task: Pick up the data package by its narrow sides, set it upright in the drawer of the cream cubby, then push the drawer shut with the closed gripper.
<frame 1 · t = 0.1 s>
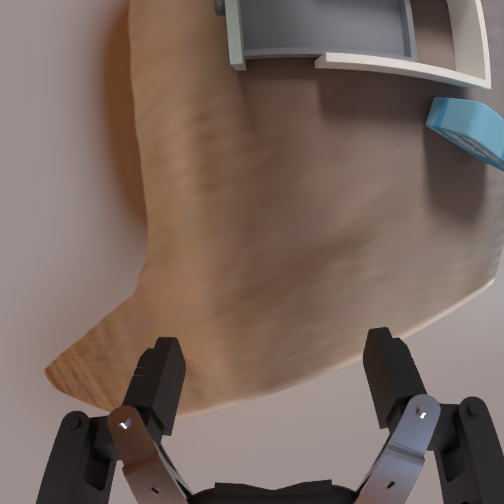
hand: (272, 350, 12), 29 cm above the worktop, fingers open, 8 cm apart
drawer: (322, 6, 24), point 4 cm above the worktop, slide at 8.0 cm
data package: (455, 128, 32), on the worktop
cubby: (392, 23, 26), on the worktop
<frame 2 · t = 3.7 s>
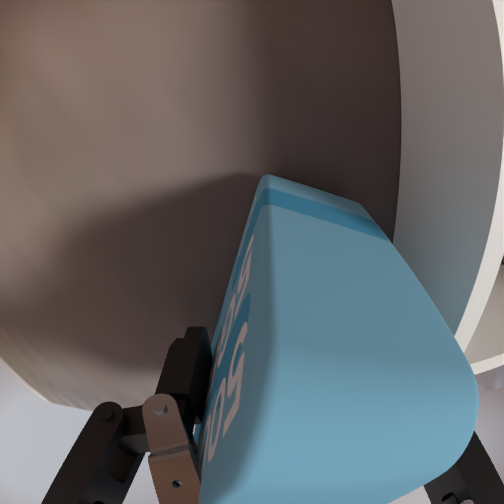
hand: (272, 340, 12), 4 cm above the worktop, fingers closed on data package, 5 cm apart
data package: (271, 282, 16), on the worktop, touching gripper
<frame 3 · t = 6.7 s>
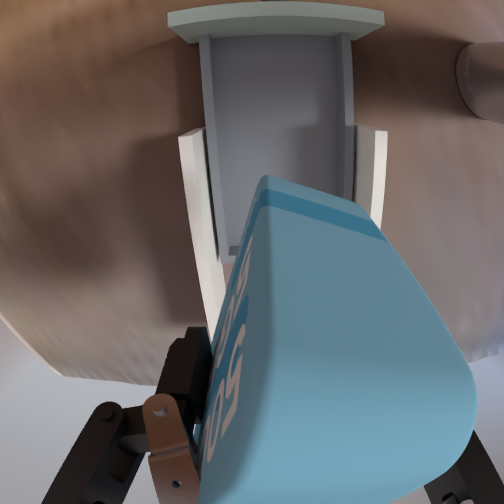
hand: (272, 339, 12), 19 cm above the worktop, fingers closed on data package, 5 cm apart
drawer: (282, 136, 22), point 4 cm above the worktop, slide at 8.0 cm
data package: (271, 283, 16), point 14 cm above the worktop, touching gripper
cubby: (282, 231, 31), on the worktop
when the fingers open (7 cm above the worktop, at t = 10.0 s): data package drops 1 cm, resting on drawer.
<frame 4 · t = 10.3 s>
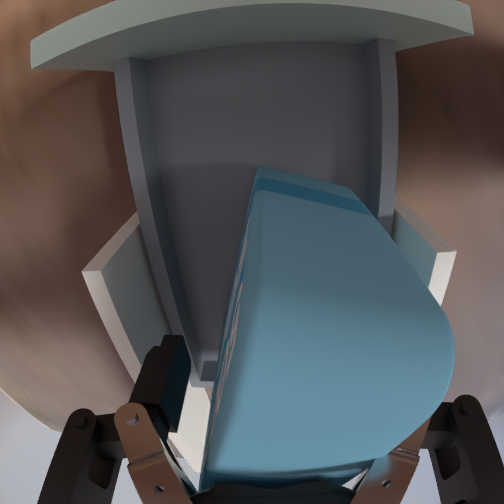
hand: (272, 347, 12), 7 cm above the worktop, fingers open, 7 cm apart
drawer: (268, 243, 14), point 4 cm above the worktop, slide at 8.0 cm, touching data package
data package: (274, 268, 17), point 1 cm above the worktop, touching drawer
cubby: (274, 341, 22), on the worktop
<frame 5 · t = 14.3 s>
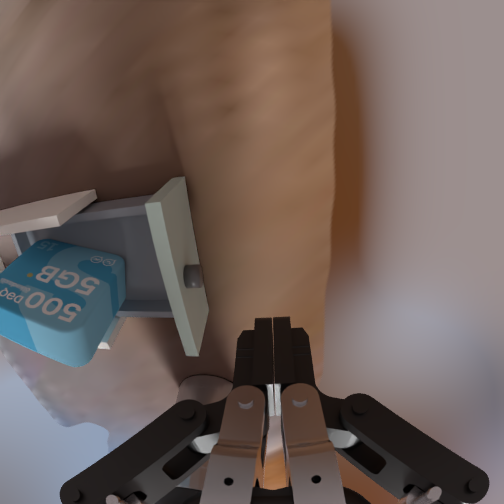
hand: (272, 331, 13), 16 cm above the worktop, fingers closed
drawer: (93, 272, 27), point 4 cm above the worktop, slide at 8.3 cm, touching data package
data package: (83, 262, 30), point 1 cm above the worktop, touching drawer
cubby: (44, 258, 31), on the worktop
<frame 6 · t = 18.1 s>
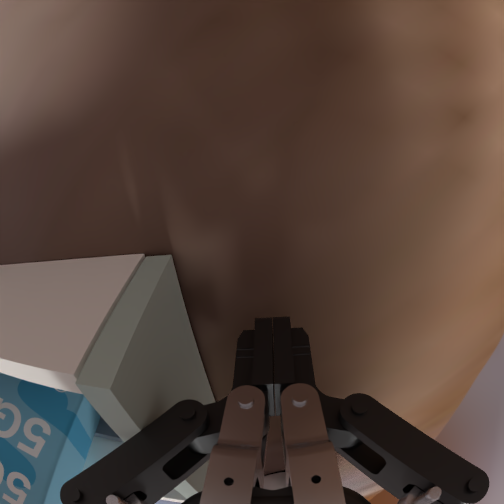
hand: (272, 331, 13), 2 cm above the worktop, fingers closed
drawer: (44, 394, 14), point 4 cm above the worktop, slide at -0.1 cm, touching data package, hand
data package: (34, 362, 17), point 1 cm above the worktop, touching drawer
cubby: (47, 352, 17), on the worktop
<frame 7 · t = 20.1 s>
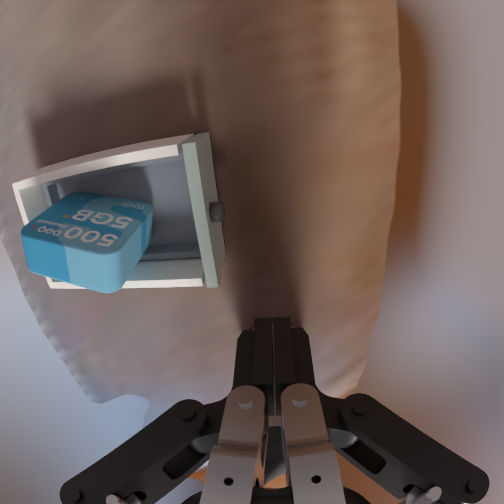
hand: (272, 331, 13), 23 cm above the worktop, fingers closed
drawer: (124, 216, 32), point 4 cm above the worktop, slide at 0.2 cm, touching data package
data package: (112, 212, 34), point 1 cm above the worktop, touching drawer
cubby: (120, 206, 35), on the worktop
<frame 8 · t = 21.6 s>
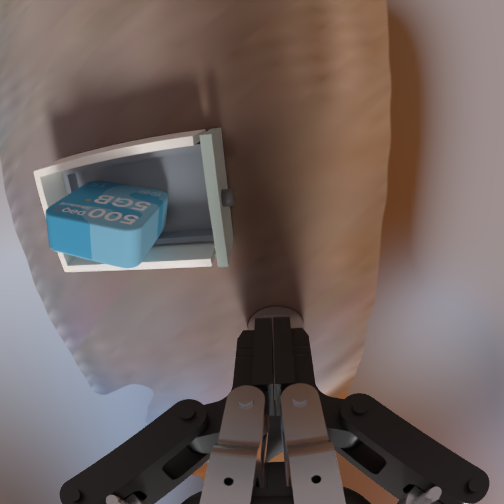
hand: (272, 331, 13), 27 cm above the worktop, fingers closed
drawer: (141, 202, 35), point 4 cm above the worktop, slide at 0.5 cm, touching data package
data package: (129, 200, 38), point 1 cm above the worktop, touching drawer
cubby: (134, 195, 38), on the worktop
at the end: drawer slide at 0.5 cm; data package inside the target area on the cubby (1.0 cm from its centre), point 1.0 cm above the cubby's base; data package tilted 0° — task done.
